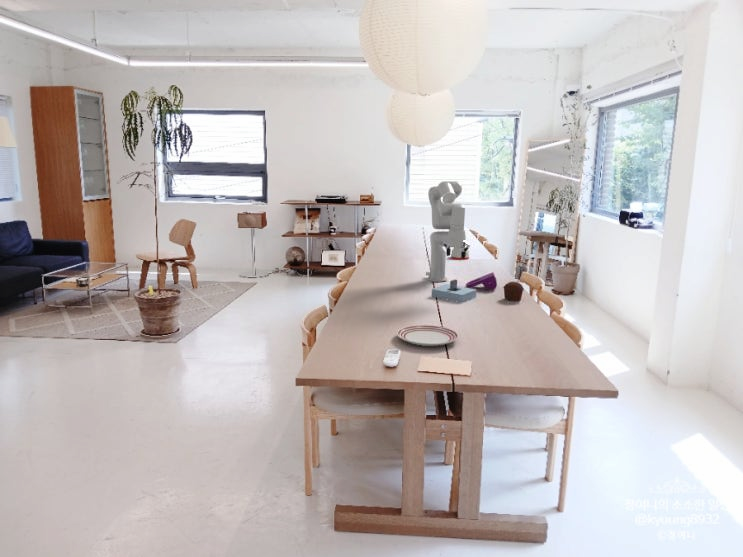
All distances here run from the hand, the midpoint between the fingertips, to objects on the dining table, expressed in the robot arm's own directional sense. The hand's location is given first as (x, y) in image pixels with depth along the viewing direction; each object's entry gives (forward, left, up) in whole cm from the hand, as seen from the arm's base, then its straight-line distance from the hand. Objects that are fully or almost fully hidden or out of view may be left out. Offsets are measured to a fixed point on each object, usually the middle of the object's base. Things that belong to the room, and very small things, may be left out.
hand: (455, 257), depth 317 cm
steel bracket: (+2, -4, -23) cm, 23 cm away
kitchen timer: (-55, +103, -23) cm, 119 cm away
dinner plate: (+31, -75, -23) cm, 84 cm away
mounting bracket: (+4, +27, -23) cm, 35 cm away
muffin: (+30, +15, -23) cm, 41 cm away
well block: (+2, -3, -23) cm, 23 cm away
